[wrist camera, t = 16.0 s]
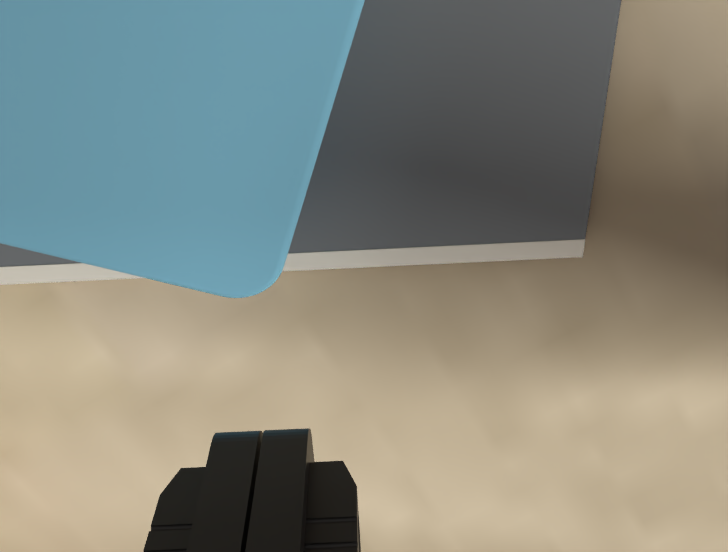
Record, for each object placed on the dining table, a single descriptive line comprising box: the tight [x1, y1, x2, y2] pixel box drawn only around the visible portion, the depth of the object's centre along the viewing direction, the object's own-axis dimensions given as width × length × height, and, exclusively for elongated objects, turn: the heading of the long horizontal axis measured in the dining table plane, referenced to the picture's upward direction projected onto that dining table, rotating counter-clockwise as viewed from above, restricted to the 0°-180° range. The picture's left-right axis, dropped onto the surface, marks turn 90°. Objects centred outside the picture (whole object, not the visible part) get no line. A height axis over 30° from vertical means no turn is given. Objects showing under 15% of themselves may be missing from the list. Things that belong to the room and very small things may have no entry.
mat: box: [0, 0, 621, 285], centre depth 25 cm, size 24×12×1 cm, turn 92°
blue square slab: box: [0, 0, 365, 298], centre depth 21 cm, size 12×4×12 cm
